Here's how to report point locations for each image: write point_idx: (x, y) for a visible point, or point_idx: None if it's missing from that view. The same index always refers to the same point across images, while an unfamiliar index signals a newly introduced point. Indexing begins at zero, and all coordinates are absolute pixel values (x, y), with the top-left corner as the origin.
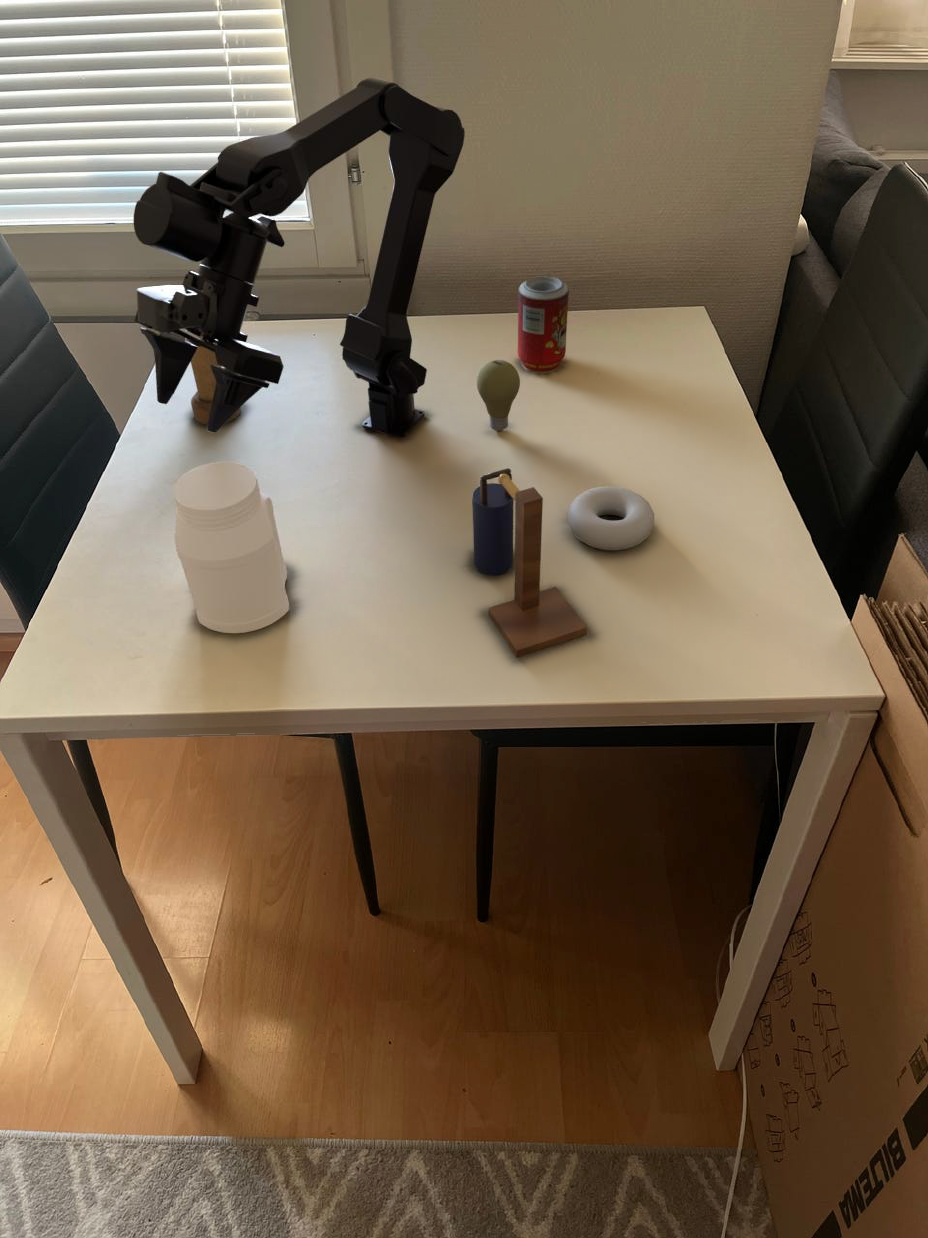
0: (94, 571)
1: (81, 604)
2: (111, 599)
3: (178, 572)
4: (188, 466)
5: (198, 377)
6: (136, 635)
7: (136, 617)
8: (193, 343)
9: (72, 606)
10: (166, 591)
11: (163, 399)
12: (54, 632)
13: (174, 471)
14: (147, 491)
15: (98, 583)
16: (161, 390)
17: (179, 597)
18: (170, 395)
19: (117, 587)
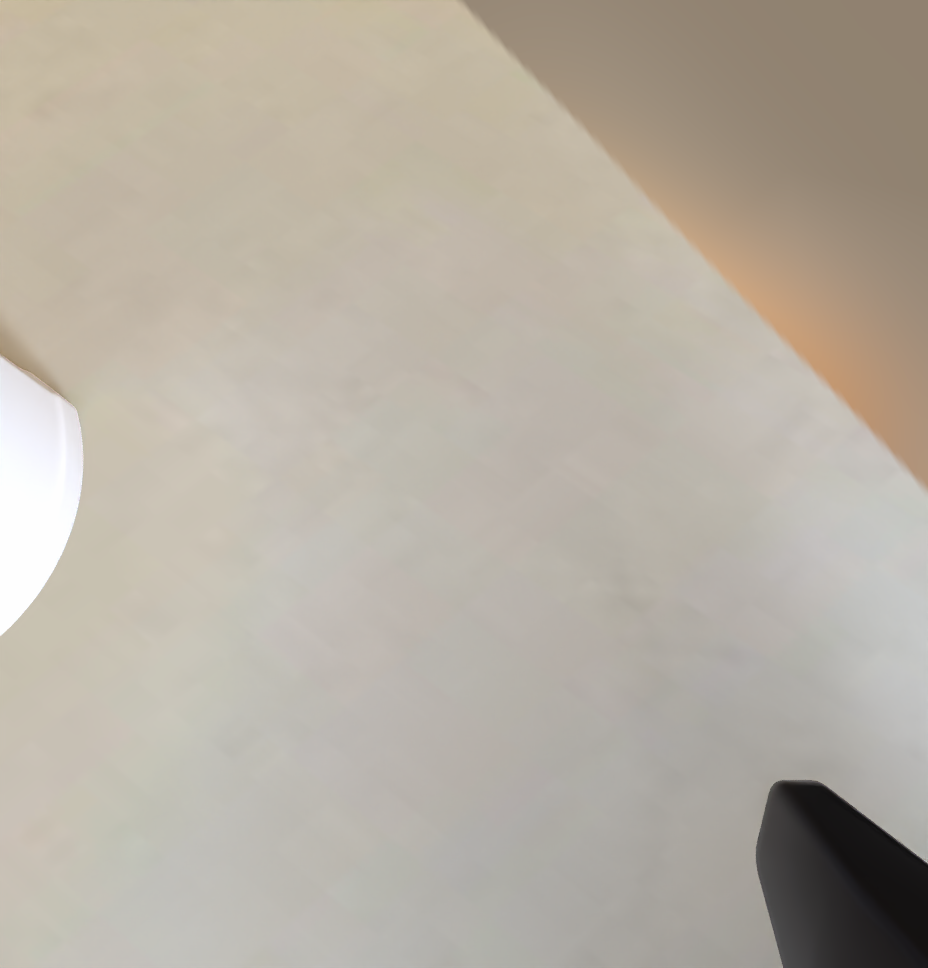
0: (505, 199)
1: (373, 68)
2: (307, 147)
3: (225, 400)
4: None
5: None
6: (58, 91)
7: (140, 146)
8: None
9: (390, 44)
10: (168, 300)
11: (776, 844)
12: None
13: None
14: (829, 657)
15: (429, 169)
16: (837, 884)
17: (94, 311)
18: (791, 965)
19: (349, 199)
